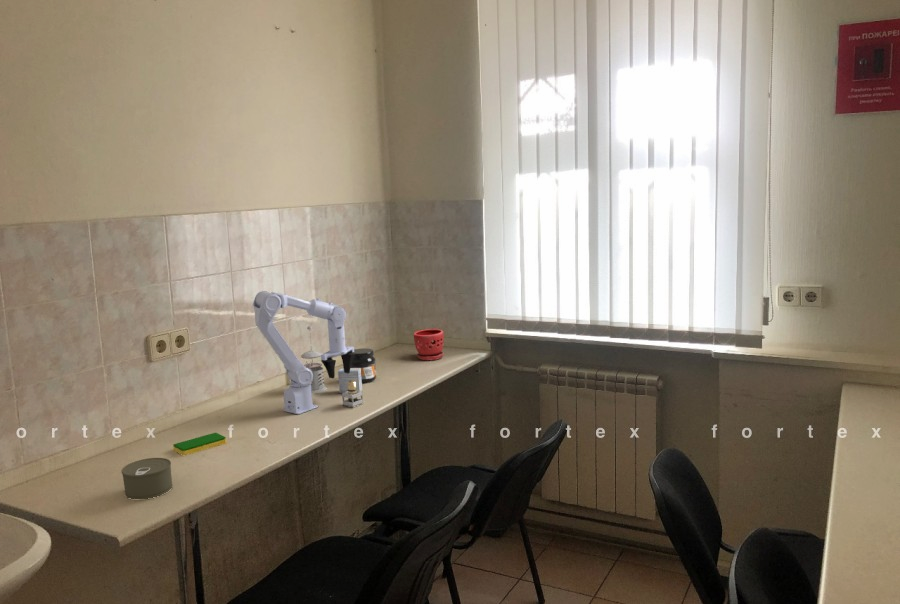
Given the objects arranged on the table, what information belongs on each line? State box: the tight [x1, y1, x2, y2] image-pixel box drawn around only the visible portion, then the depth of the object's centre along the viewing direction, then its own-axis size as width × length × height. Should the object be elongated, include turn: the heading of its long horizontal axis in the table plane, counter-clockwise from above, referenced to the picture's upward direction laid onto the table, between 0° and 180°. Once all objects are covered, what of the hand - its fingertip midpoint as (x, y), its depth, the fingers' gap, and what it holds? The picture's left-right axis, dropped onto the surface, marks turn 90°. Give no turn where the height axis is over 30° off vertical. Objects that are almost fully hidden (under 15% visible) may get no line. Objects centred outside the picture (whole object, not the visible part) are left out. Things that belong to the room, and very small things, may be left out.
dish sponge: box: [172, 432, 227, 456], centre depth 225 cm, size 7×14×2 cm, turn 133°
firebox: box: [341, 390, 364, 408], centre depth 260 cm, size 5×5×4 cm
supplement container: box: [351, 347, 377, 384], centre depth 291 cm, size 10×10×12 cm
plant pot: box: [413, 328, 445, 361], centre depth 322 cm, size 13×13×12 cm
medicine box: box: [337, 368, 363, 394], centre depth 276 cm, size 8×4×9 cm, turn 84°
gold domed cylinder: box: [347, 380, 358, 402], centre depth 259 cm, size 3×3×8 cm
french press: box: [300, 325, 328, 394], centre depth 278 cm, size 10×12×25 cm
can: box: [121, 457, 174, 500], centre depth 193 cm, size 12×12×7 cm
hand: (339, 375), depth 264 cm, fingers open, 7 cm apart
